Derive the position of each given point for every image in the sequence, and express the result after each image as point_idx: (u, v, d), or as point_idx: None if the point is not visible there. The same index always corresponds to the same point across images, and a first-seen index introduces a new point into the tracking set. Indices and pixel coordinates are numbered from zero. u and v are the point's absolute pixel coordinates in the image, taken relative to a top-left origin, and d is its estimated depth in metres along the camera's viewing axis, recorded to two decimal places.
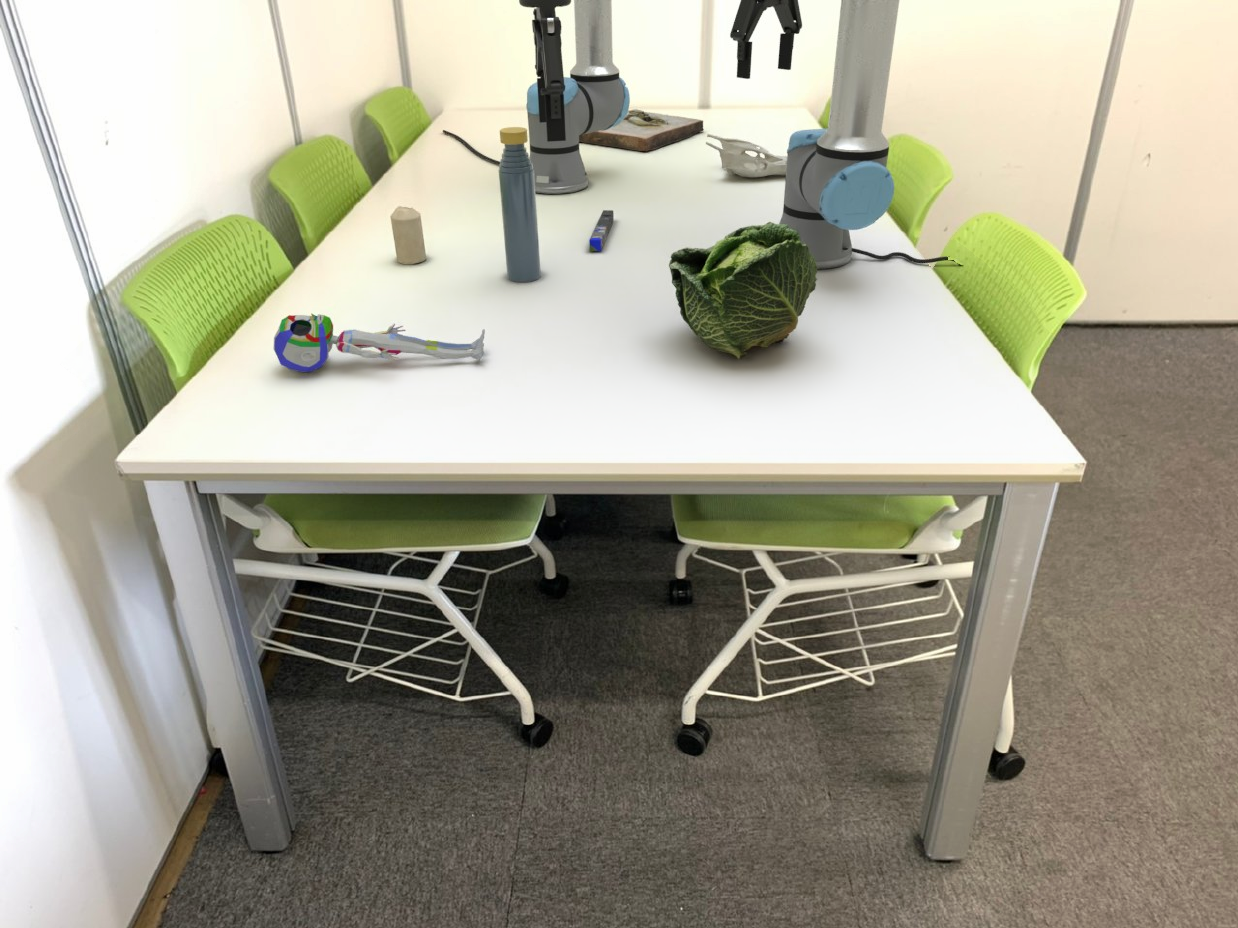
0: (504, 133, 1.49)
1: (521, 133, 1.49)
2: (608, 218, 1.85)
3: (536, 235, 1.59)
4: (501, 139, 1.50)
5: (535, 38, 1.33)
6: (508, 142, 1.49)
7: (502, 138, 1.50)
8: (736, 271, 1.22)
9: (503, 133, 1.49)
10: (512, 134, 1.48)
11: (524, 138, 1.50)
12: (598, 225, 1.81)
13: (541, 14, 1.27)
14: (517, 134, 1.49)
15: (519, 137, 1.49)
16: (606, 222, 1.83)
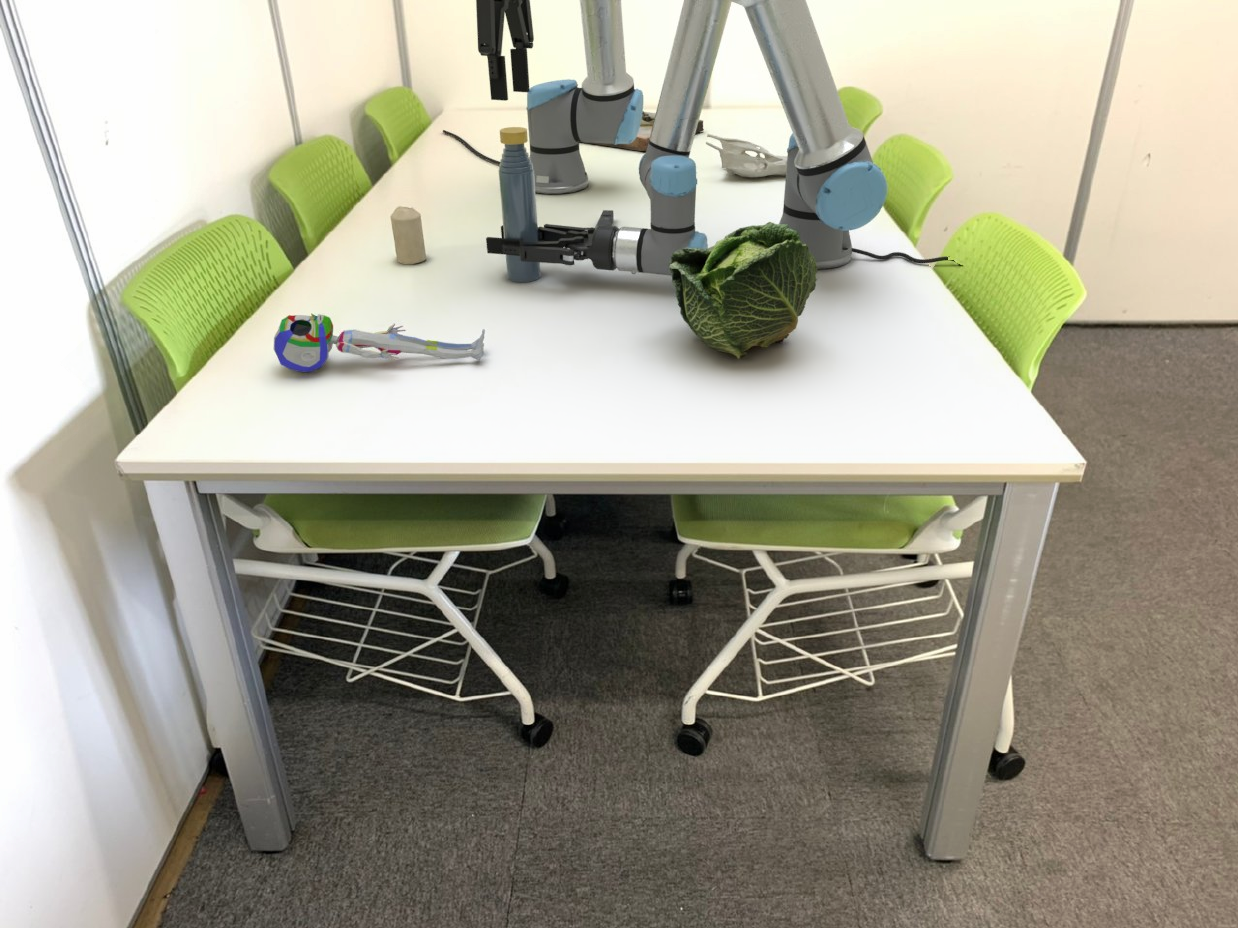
0: (504, 133, 1.49)
1: (521, 133, 1.49)
2: (608, 218, 1.85)
3: (536, 235, 1.59)
4: (501, 139, 1.50)
5: None
6: (508, 142, 1.49)
7: (502, 138, 1.50)
8: (736, 271, 1.22)
9: (503, 133, 1.49)
10: (512, 134, 1.48)
11: (524, 138, 1.50)
12: (598, 225, 1.81)
13: None
14: (517, 134, 1.49)
15: (519, 137, 1.49)
16: (606, 222, 1.83)
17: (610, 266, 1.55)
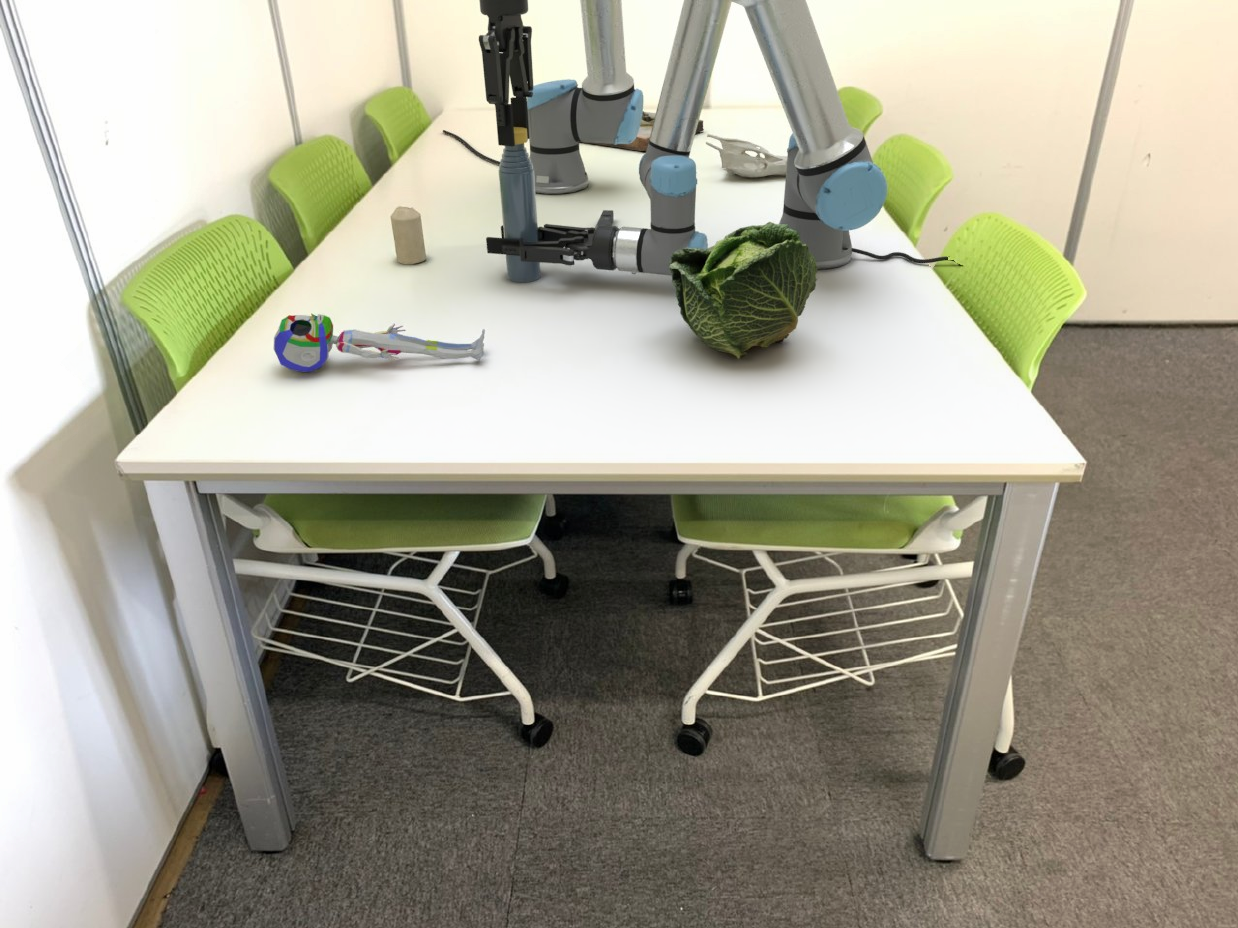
0: None
1: (521, 133, 1.49)
2: (608, 218, 1.85)
3: (536, 235, 1.59)
4: None
5: None
6: None
7: None
8: (736, 271, 1.22)
9: None
10: None
11: (524, 138, 1.50)
12: (598, 225, 1.81)
13: None
14: (517, 134, 1.49)
15: (519, 137, 1.49)
16: (606, 222, 1.83)
17: (610, 266, 1.55)
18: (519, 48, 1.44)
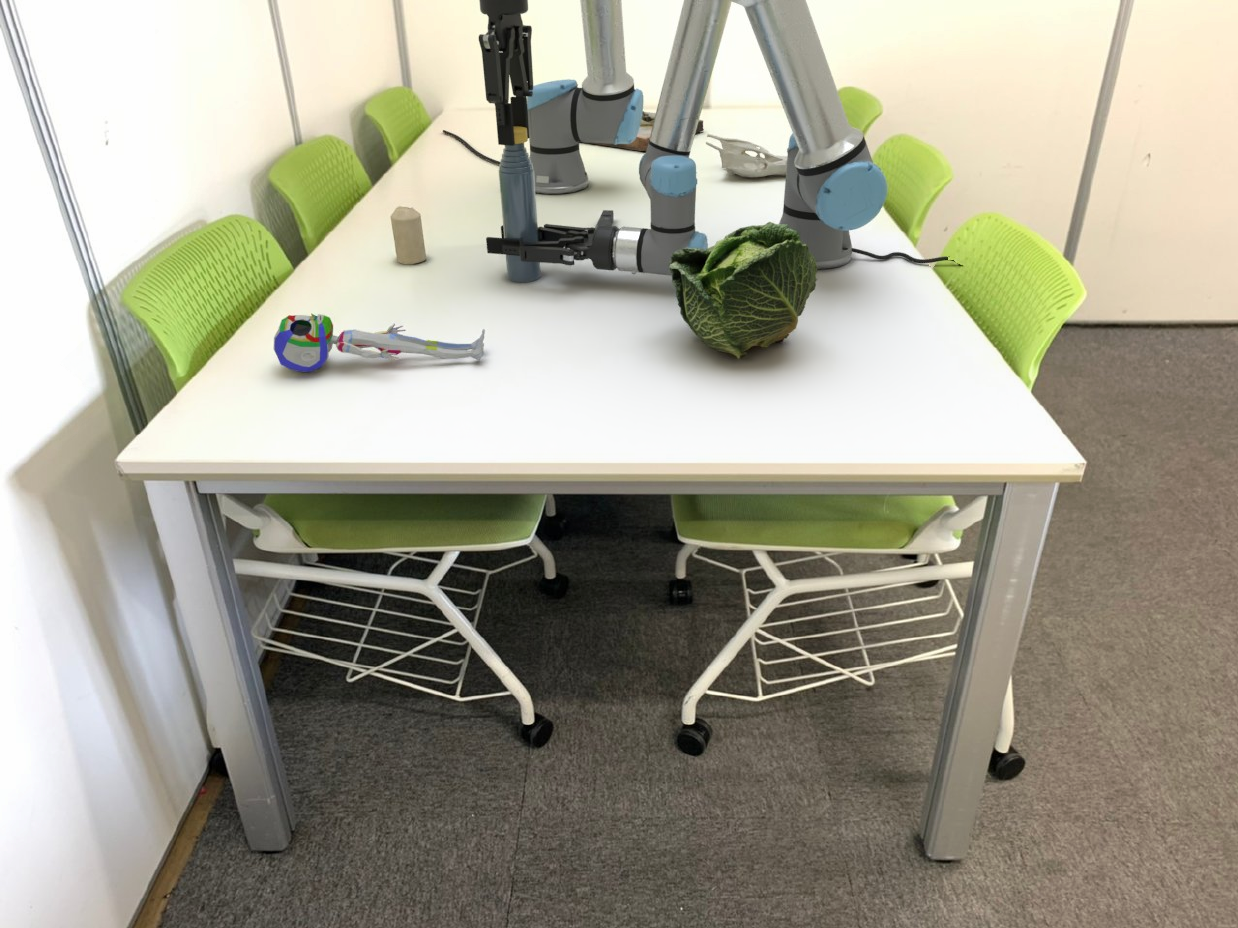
0: (526, 130, 1.50)
1: None
2: (608, 218, 1.85)
3: (536, 235, 1.59)
4: (524, 138, 1.50)
5: None
6: (527, 138, 1.51)
7: (525, 136, 1.50)
8: (736, 271, 1.22)
9: (526, 130, 1.50)
10: None
11: None
12: (598, 225, 1.81)
13: None
14: None
15: None
16: (606, 222, 1.83)
17: (610, 266, 1.55)
18: (519, 47, 1.44)
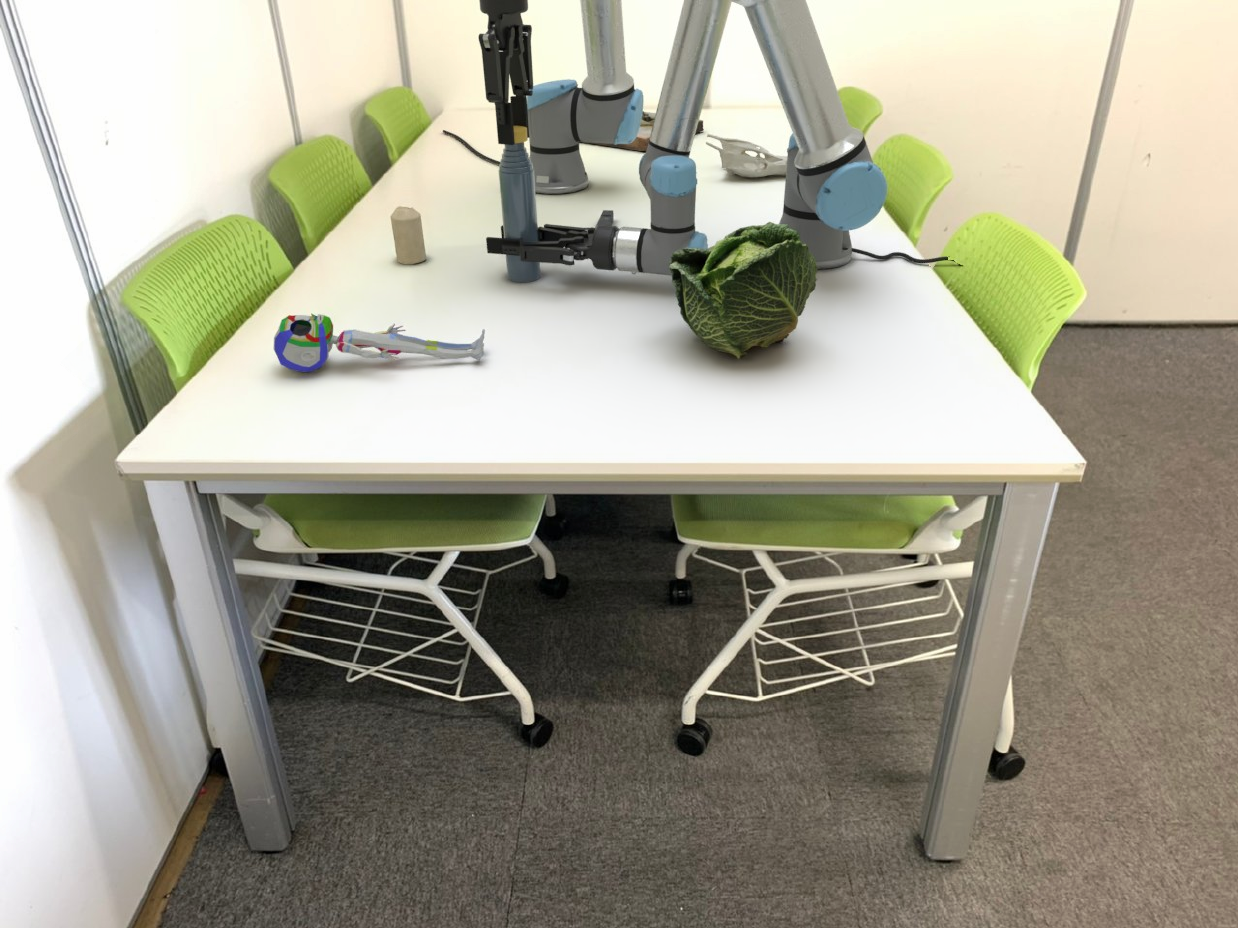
0: None
1: None
2: (608, 218, 1.85)
3: (536, 235, 1.59)
4: None
5: None
6: None
7: None
8: (736, 271, 1.22)
9: None
10: None
11: None
12: (598, 225, 1.81)
13: None
14: None
15: None
16: (606, 222, 1.83)
17: (610, 266, 1.55)
18: (519, 47, 1.44)
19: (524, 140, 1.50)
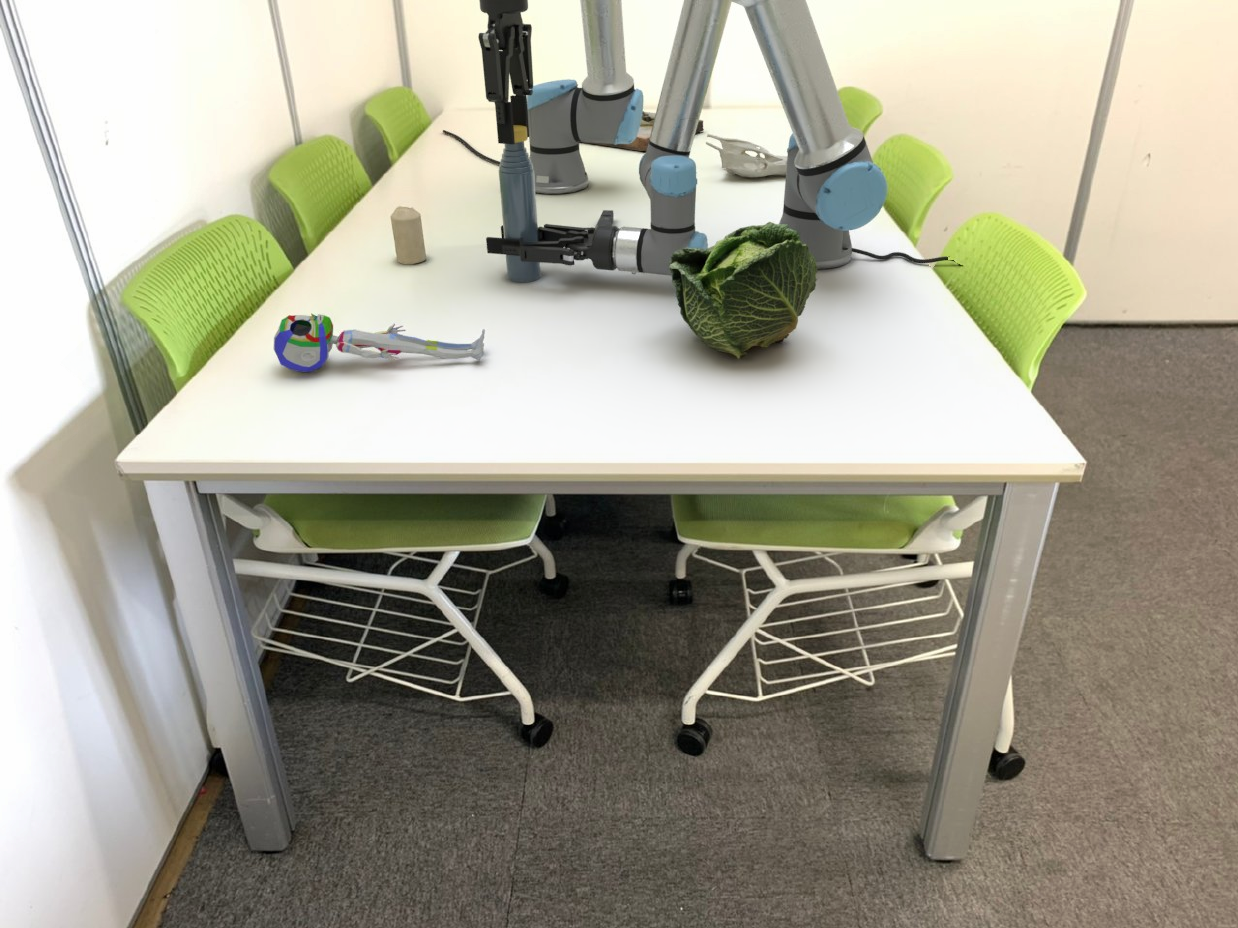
0: None
1: (521, 131, 1.49)
2: (608, 218, 1.85)
3: (536, 235, 1.59)
4: None
5: None
6: None
7: None
8: (736, 271, 1.22)
9: None
10: None
11: (524, 136, 1.50)
12: (598, 225, 1.81)
13: None
14: (517, 132, 1.49)
15: (519, 135, 1.49)
16: (606, 222, 1.83)
17: (610, 266, 1.55)
18: (519, 46, 1.44)
19: None
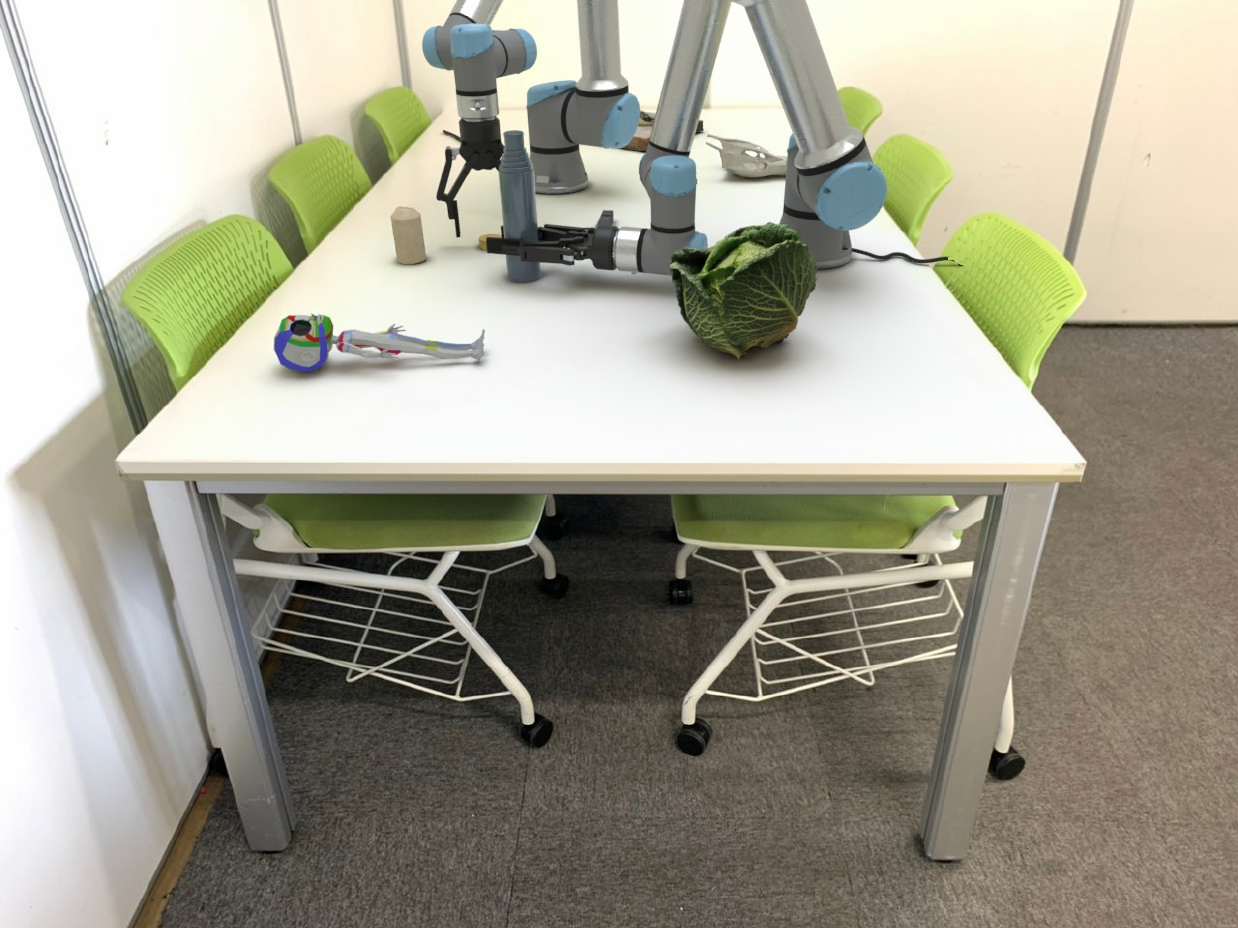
0: None
1: None
2: (608, 218, 1.85)
3: (536, 235, 1.59)
4: None
5: None
6: None
7: None
8: (736, 271, 1.22)
9: None
10: None
11: None
12: (598, 225, 1.81)
13: None
14: None
15: None
16: (606, 222, 1.83)
17: (610, 266, 1.55)
18: None
19: (480, 247, 1.77)
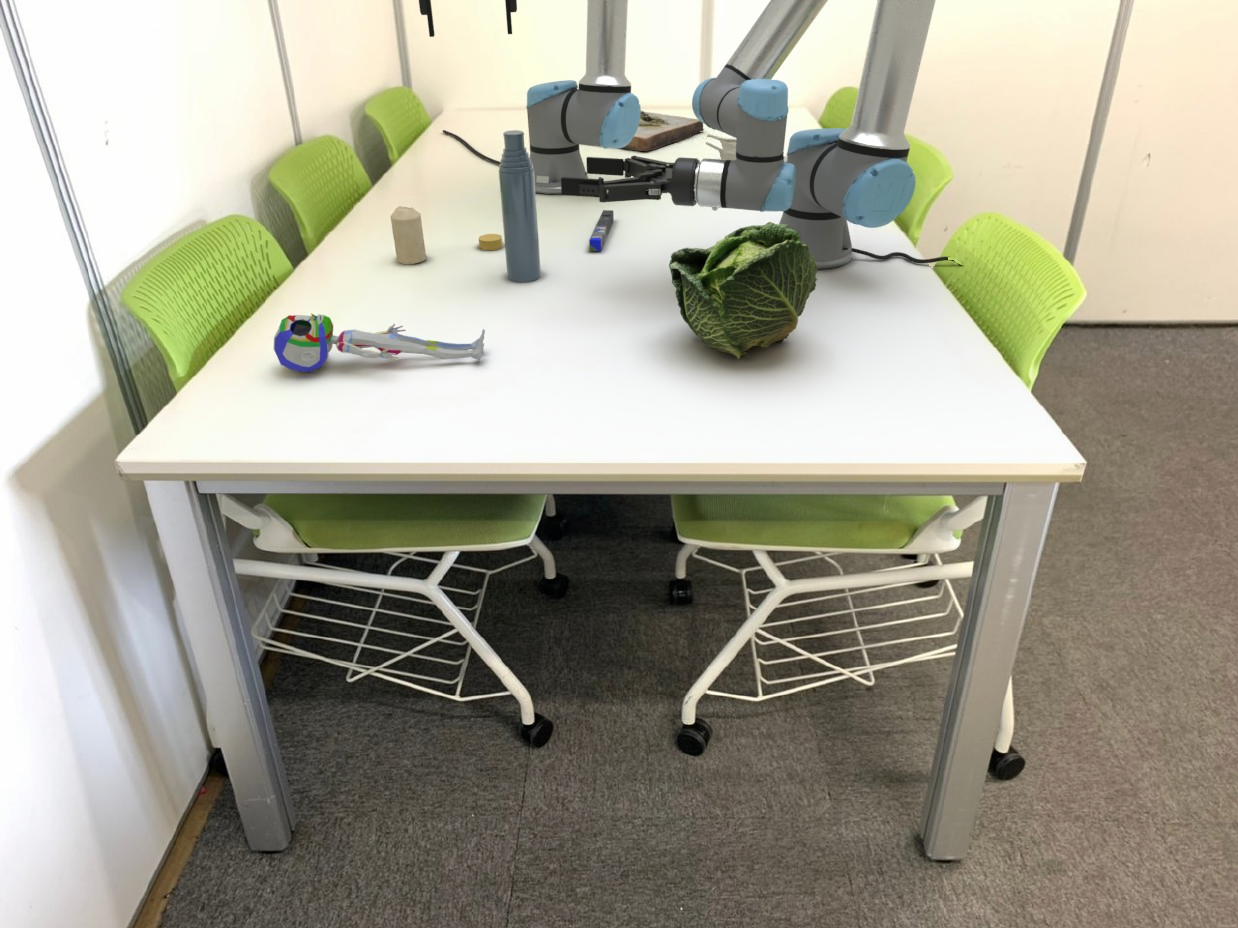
0: (501, 238, 1.77)
1: None
2: (608, 218, 1.85)
3: (536, 235, 1.59)
4: (499, 245, 1.77)
5: None
6: None
7: (500, 243, 1.77)
8: (736, 271, 1.22)
9: (501, 238, 1.77)
10: None
11: None
12: (598, 225, 1.81)
13: None
14: None
15: None
16: (606, 222, 1.83)
17: (691, 200, 1.45)
18: None
19: (480, 247, 1.77)
